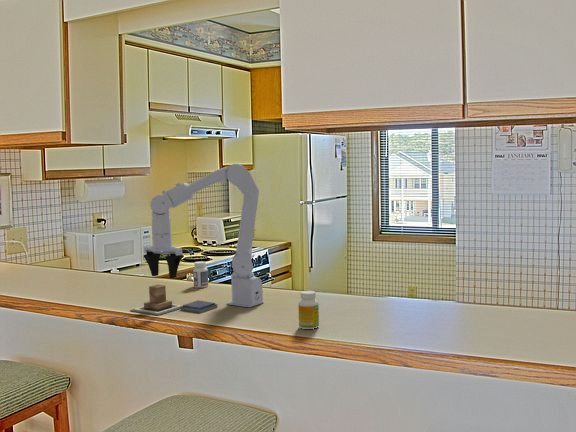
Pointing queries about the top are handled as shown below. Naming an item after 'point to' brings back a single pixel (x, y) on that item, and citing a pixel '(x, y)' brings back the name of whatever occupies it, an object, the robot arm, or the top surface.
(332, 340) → the top surface
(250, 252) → the robot arm
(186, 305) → the ink pad
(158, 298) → the stamp
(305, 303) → the supplement bottle
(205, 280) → the pill bottle
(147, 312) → the marked square
